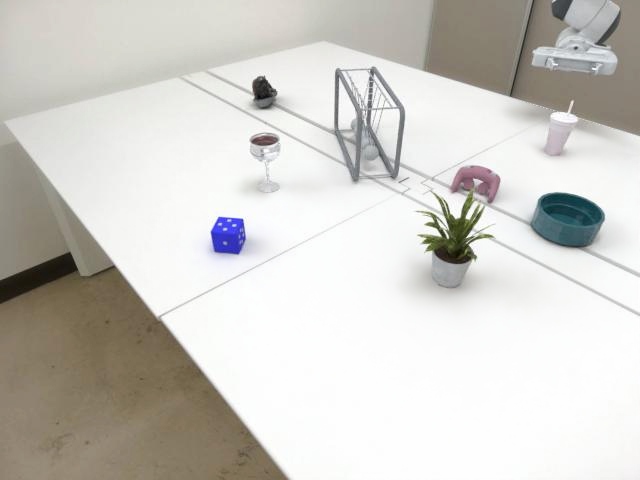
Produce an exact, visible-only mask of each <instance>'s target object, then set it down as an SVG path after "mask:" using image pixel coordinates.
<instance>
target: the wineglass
mask: <svg viewBox="0 0 640 480" xmlns="http://www.w3.org/2000/svg"><path fill="white" fill-rule="evenodd" d="M248 139H249V141H248V142H249V143H250V144H249V152H250V154H251V155H252V157H253V159H255V160H257V161H258V162H261V163H263V164H264V166H265V173H266V180H265V181H262V182H260V183H259V184H258V186H257V189H258V190H259V191H260V192H262V193H273V192H275V191H277V190H279V188H280V184H279V183H278V182H277V181H274V180H270V170H269V169H270V167H269V163H271V162H273V161H275V160H276V158H278V157H279V155H280V154H281V150H282V148H281V147H282V146H281V143H280V140H281V137H280V136H279V135H278V134H277V133H273V132H267V131H266V132H265V131H264V132H257V133H255V134H253V135H251V136H250V137H249V138H248Z"/></svg>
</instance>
